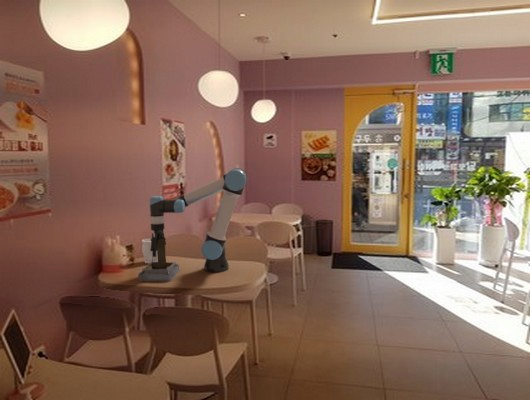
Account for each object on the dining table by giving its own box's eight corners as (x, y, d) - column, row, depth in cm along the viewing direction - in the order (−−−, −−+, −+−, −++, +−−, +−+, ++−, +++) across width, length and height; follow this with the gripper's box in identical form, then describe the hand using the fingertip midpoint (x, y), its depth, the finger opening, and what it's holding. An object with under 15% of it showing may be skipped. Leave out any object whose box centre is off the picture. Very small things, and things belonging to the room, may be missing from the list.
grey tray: (179, 270, 250) (179, 261, 249) (169, 281, 230) (169, 271, 229) (150, 270, 251) (150, 261, 250) (138, 281, 231) (138, 270, 230)
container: (163, 271, 234) (161, 240, 232) (148, 270, 236) (147, 239, 234) (169, 266, 243) (168, 237, 241) (155, 266, 245) (154, 236, 243)
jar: (150, 265, 263) (149, 242, 261) (139, 262, 268) (138, 240, 266) (162, 261, 271) (161, 239, 270) (152, 258, 277) (151, 237, 275)
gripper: (157, 219, 249) (159, 253, 252) (143, 227, 224) (145, 264, 227) (170, 219, 248) (171, 253, 251) (156, 227, 224) (158, 264, 226)
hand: (159, 258), depth 239 cm, fingers open, 13 cm apart
